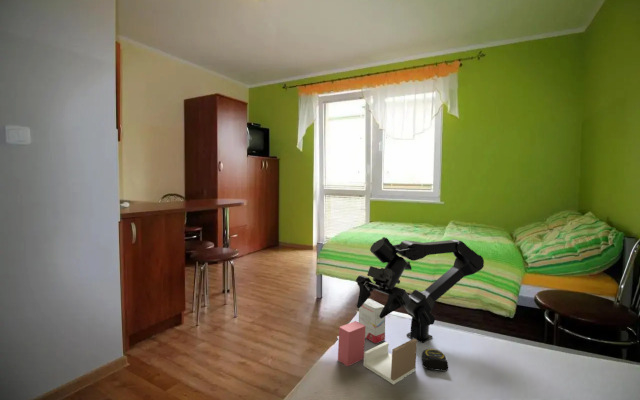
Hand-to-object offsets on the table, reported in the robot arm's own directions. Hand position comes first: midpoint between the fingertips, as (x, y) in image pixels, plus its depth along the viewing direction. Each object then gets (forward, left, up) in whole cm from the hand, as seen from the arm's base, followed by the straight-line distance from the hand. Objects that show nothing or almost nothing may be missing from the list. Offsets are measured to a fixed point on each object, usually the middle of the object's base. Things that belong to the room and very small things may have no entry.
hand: (368, 312), depth 96 cm
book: (+7, 0, -12) cm, 14 cm away
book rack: (+2, +10, -12) cm, 16 cm away
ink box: (-8, -5, -13) cm, 16 cm away
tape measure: (-10, +18, -13) cm, 24 cm away
